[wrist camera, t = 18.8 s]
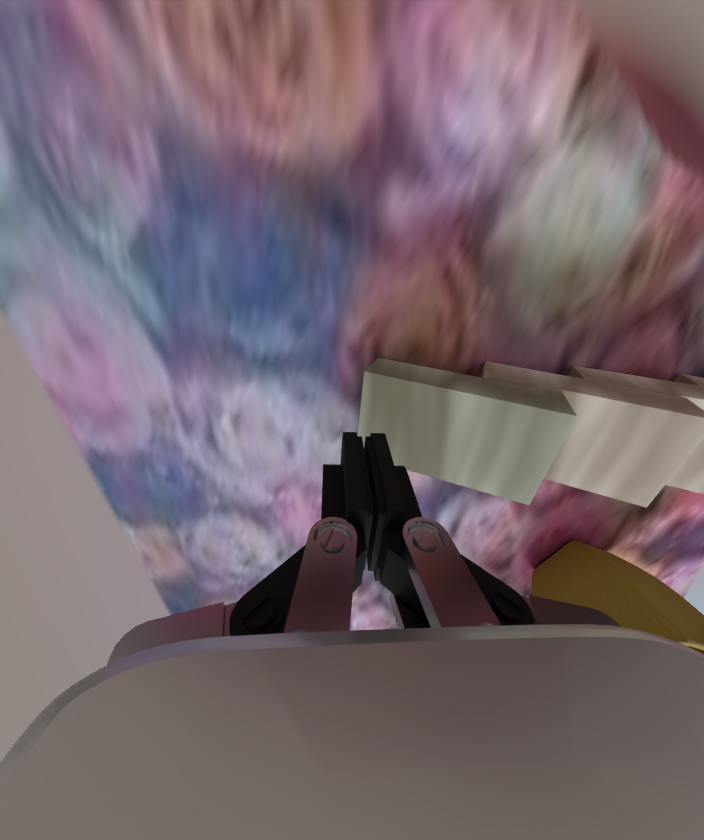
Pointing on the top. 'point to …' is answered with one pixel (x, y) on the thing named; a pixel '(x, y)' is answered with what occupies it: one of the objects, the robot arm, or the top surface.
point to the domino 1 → (465, 426)
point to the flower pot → (618, 593)
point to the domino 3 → (700, 467)
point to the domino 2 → (615, 434)
